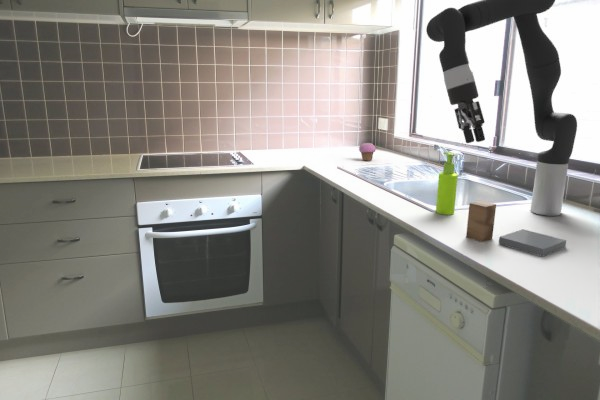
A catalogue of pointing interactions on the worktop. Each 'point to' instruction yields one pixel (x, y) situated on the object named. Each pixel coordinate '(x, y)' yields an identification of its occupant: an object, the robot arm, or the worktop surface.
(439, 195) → the soap dispenser
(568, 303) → the worktop surface
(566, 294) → the worktop surface
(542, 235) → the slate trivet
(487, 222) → the walnut block
